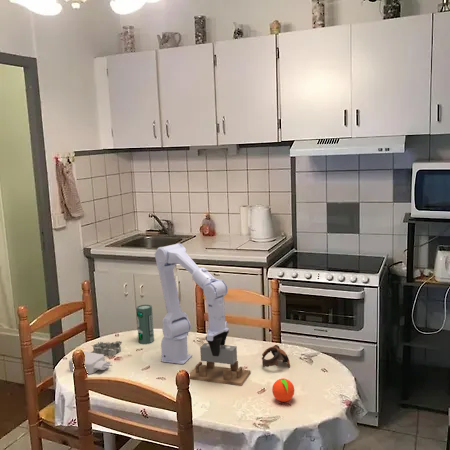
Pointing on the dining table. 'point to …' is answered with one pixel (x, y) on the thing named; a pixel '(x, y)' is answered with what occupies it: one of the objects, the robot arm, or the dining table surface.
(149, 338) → the can
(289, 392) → the clementine
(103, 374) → the dining table surface
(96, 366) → the charger
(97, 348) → the egg carton
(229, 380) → the rack
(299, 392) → the dining table surface
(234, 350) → the power strip
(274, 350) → the brown open ring
